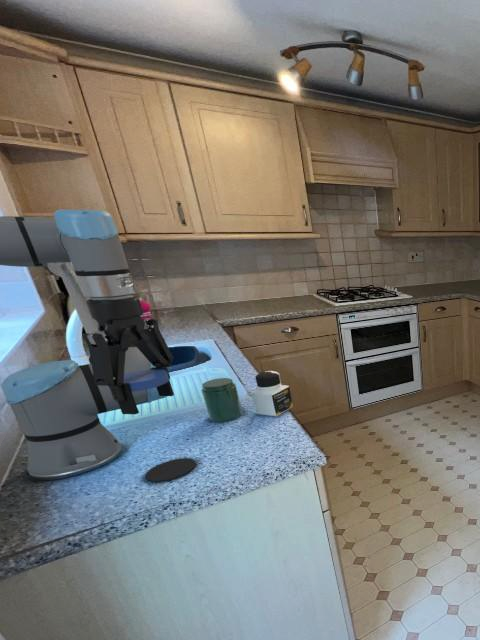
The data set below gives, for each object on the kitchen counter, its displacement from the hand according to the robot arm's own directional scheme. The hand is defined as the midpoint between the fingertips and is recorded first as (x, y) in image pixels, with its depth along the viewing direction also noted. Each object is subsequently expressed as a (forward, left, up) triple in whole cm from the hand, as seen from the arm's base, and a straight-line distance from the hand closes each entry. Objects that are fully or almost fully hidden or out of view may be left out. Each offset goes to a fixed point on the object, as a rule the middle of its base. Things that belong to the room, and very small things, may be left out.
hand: (149, 403), depth 86 cm
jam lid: (0, 0, +6) cm, 6 cm away
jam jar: (-6, +28, -17) cm, 33 cm away
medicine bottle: (+6, +32, -17) cm, 36 cm away
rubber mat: (0, 0, -17) cm, 17 cm away
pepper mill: (-89, +102, -17) cm, 136 cm away
